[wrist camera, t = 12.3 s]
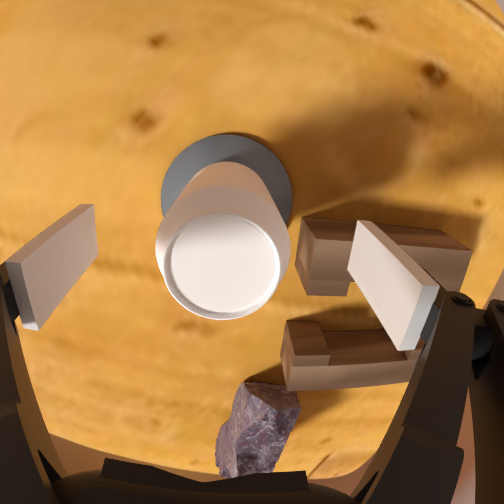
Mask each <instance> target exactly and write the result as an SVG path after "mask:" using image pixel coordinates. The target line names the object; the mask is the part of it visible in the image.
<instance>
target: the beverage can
mask: <svg viewBox="0 0 504 504" xmlns="http://www.w3.org/2000/svg"><path fill="white" fill-rule="evenodd" d="M156 258H157V262H158V266H159V269H160V271H161V273H162V275H163V277H164V280H165V283H166V285H167V288H168V289H169V291H170V293H171V294H172V296H173V297H174V298H175V299H176V300H177V302H178V303H180V304H181V305H182V306H183V307H184V308H186V309H187V310H189V311H190V312H192V313H194V314H196V315H199V316H202V317H205V318H209V319H215V320H230V319H236V318H240V317H244V316H246V315H249V314H251V313H253V312H255V311H256V310H258V309H259V308H261V307H262V306H263V305H264V304H265V303H266V302H267V301H268V300H269V299H270V298H271V296H272V295H273V294H274V292H275V290H276V288H277V286H278V284H279V283H280V282H281V280H282V278H283V277H284V275H285V272H286V270H287V267H288V264H289V259H290V238H289V234H288V230H287V228H286V225H285V223H284V221H283V219H282V217H281V215H280V213H279V211H278V209H277V207H276V205H275V203H274V201H273V199H272V197H271V195H270V193H269V191H268V189H267V187H266V186H265V184H264V182H263V181H262V179H261V178H260V177H259V176H258V175H257V174H256V173H255V172H254V171H253V170H252V169H250V168H248V167H247V166H245V165H242V164H239V163H235V162H218V163H214V164H211V165H208V166H206V167H205V168H203V169H201V170H200V171H199V172H198V173H197V174H196V175H195V176H194V177H193V178H192V179H191V180H190V182H189V183H188V184H187V186H186V187H185V188H184V190H183V191H182V192H181V194H180V195H179V196H178V198H177V199H176V201H175V202H174V203H173V205H172V206H171V208H170V209H169V210H168V212H167V213H166V215H165V216H164V218H163V220H162V222H161V224H160V227H159V230H158V233H157V238H156Z"/></svg>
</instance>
